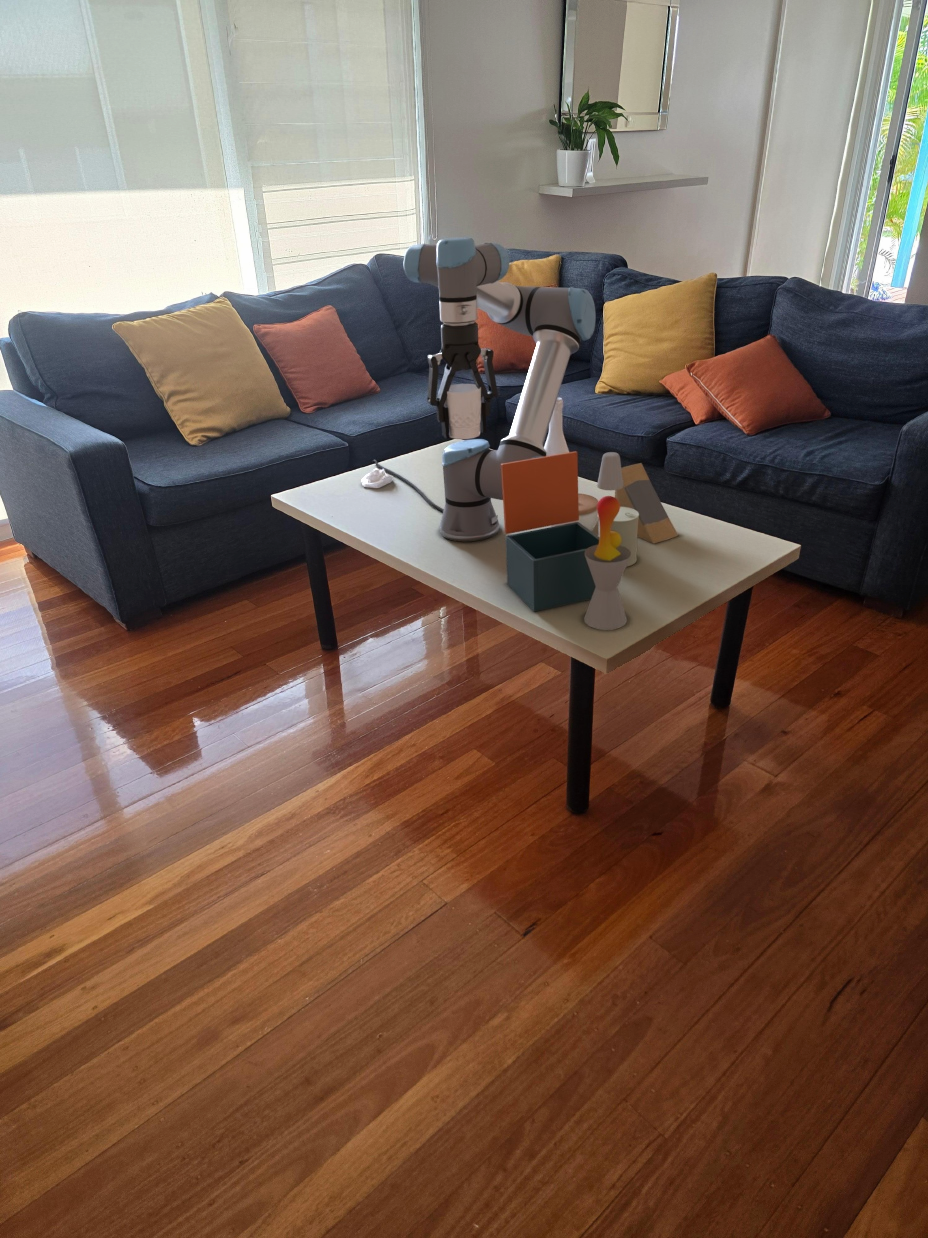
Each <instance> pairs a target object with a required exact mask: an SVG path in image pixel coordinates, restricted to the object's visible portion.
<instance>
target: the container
mask: <svg viewBox="0 0 928 1238" xmlns="http://www.w3.org/2000/svg"><path fill="white" fill-rule="evenodd" d="M598 544H599V537H598V535H597V534H596V533H594V532H593V531H592V532H591V531H590V530H589V529H587V528H586V527H585V526H583V525H582V524H580V523H579V522H575V523H570V524H564V525H559V526H554V527H551V526H548V527H543V528H538V529H533V530H527V531H522V532H517V533H512V534H507V535H505V552H506V553H505V554H506V557H505V558H506V584H507V586H508V587H509V588H510V589H511V590H512V591H513V592H514V593H515V594H516V595H517V596H518V597H519V598H520V599H521V600H522V602H524V603H525V604H526V605H527V606H528V607H529V608H530V610H531V611H532V612H535V613H536V612H540V611H544V610H548V609H553V608H557V607H562V606H566V605H572V604H576V603H581V602H586V601H589V600H591V598H592V596H593V593H594V590H595V587H596V586H595V583H594V580H593V577H592V574H591V571H590V569H589V566H588V563H587V560H586V557H585V550H586V549H587V548H589V547H591V546H594V545H598Z"/></svg>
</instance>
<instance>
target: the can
mask: <svg viewBox="0 0 928 1238" xmlns="http://www.w3.org/2000/svg"><path fill="white" fill-rule="evenodd" d="M638 518H639V513H638V512H637V511H636V510H634V509H632V508H628V507H620V510H619V512H618V514H617V516H616V517H615V519H614V521H613V523H612V526H611V531H615V532H617V533H619V534H620V536H621V544H620V545H621V546H623V547H626V548H627V549H629V550H630V552H631V556H630V559H629V561H628V564H627V566H626V568H628V567H630V566H633V565H634V564H635V563H636V562H637V561H638V558H637V550H638V549H637V548H638V547H637V546H638V536H637V531H638ZM597 536H598V537H599V538H600V523H599V522H598V535H597Z"/></svg>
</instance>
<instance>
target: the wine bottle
mask: <svg viewBox="0 0 928 1238" xmlns="http://www.w3.org/2000/svg"><path fill="white" fill-rule="evenodd" d="M563 408H564V400H563V398H562V397H557V400H556V404H555V407H554V410H553V414H552V417H551V420H550V424H549V427H548V432H547V433H548V434H547V436H546V439H545V440H546V441H545V442H544V445H543V447H544V449H545V451H546V453H547V455H546V456H551V455H557V454H563V453H569V452H570V450H569V447H568V445H567V441H566V438H565V435H564V429H563Z"/></svg>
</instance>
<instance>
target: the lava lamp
mask: <svg viewBox="0 0 928 1238" xmlns="http://www.w3.org/2000/svg"><path fill="white" fill-rule="evenodd" d="M621 468H622V464H621V456H620V454H619V453H617V452H614V451H609V452H605V453H604V454H603V455H602V458H601V464H600V468H599V473H598V479H597V483H596V487H597V488H598V489H600V490H602V491H615V490H618V489H621V488H622V487H623V479H622V470H621ZM619 510H620V504H619V502H618V500H617V499H616V498H615V496H613V495H606V496H603V497H601V498H600V499H599V500H598V504H597V511H598V524H599V523H600V538H599V544H598V545H594V546H591V547H589V548H587V549H586V550H585V557H586V560H587V563H588V566H589V569H590V571H591V574H592V577H593V580H594V583H595V586H596V587H595V590H594V593H593V596H592V598H591V599H590V601H589V604H588V606H587V610H586V612H585V614H584V617H583V621H584V623H585V624H586V625H587V626H588V627H590V628H593V629H596V630H602V631H612V630H617V629H620V628H622V627H624V626H625V625H626V624H627V621H628V618H627V616H626V612H625V608H624V605H623V601H622V598H621V595H620V591H619V588H618V587H619V585H620V582H621V580H622V577H623V576H624V573H625V570H626V568H627V567H628V566H627V564H628V561H629V559H630V556H631V552H630V550H629V549H627V548H626V547H623V546H621V545H620V544H621V536H620V534H619V533H617V532H615V531H611V526H612V523H613V521H614V519H615V517H616V516H617V514H618V512H619ZM626 566H627V567H626Z"/></svg>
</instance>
